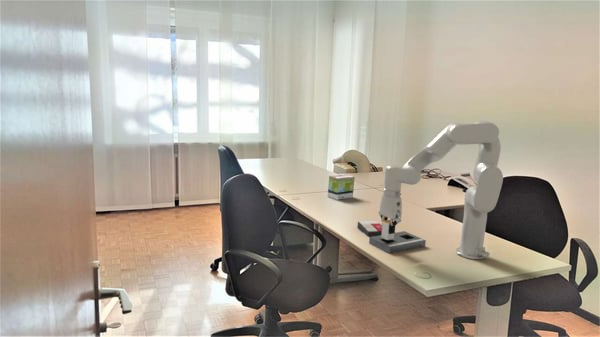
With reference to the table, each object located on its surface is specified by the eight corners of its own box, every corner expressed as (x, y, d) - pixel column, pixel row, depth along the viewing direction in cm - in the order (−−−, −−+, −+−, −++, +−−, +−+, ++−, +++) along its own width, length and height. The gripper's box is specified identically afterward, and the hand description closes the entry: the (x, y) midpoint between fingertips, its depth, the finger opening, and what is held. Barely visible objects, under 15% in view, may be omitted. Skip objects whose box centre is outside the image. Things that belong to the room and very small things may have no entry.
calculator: (368, 231, 207) (357, 220, 221) (367, 239, 208) (357, 228, 222) (389, 230, 209) (377, 219, 223) (388, 238, 210) (376, 227, 224)
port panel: (425, 247, 197) (425, 240, 196) (389, 254, 186) (390, 246, 185) (403, 237, 209) (404, 230, 208) (369, 244, 198) (369, 236, 197)
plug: (393, 238, 193) (395, 222, 191) (387, 240, 191) (388, 223, 189) (387, 236, 196) (389, 219, 195) (381, 237, 194) (382, 220, 193)
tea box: (337, 200, 276) (338, 178, 274) (327, 197, 284) (328, 175, 281) (353, 197, 286) (355, 176, 283) (343, 194, 293) (344, 173, 291)
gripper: (411, 196, 185) (407, 236, 188) (385, 188, 199) (382, 225, 202) (398, 198, 181) (394, 238, 184) (373, 189, 195) (369, 227, 198)
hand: (388, 231), depth 193 cm, fingers closed on plug, 4 cm apart
